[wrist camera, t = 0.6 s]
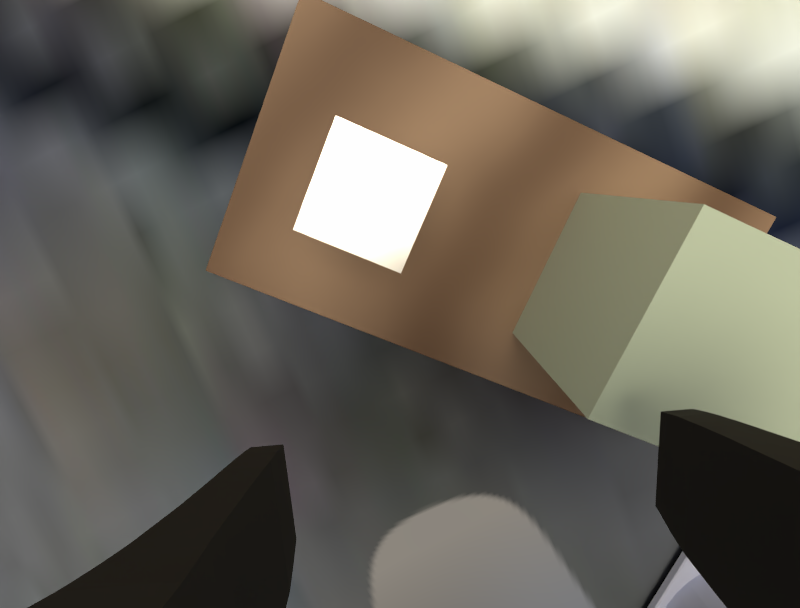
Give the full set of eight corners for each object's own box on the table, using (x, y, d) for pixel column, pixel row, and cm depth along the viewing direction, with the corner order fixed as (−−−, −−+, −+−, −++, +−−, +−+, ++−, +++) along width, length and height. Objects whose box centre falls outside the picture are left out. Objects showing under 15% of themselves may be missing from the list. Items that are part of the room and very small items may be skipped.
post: (423, 167, 17) (447, 165, 11) (392, 242, 17) (400, 273, 12) (347, 134, 16) (335, 115, 11) (317, 211, 17) (292, 229, 12)
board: (755, 215, 19) (776, 217, 18) (634, 428, 21) (647, 441, 20) (306, 1, 16) (301, -9, 15) (214, 265, 18) (205, 270, 17)
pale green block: (713, 252, 18) (902, 296, 12) (639, 384, 19) (775, 491, 13) (580, 192, 17) (704, 204, 11) (512, 332, 18) (587, 419, 12)
